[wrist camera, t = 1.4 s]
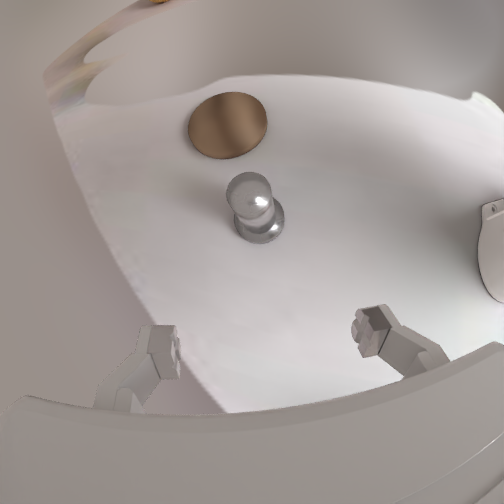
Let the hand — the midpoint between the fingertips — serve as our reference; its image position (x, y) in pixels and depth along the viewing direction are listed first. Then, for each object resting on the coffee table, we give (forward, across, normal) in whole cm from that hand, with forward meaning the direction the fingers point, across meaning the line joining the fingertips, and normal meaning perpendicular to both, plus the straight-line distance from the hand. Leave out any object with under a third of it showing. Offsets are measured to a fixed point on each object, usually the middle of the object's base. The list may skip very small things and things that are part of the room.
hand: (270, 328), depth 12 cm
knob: (+25, -3, +6) cm, 26 cm away
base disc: (+36, 0, -5) cm, 36 cm away
